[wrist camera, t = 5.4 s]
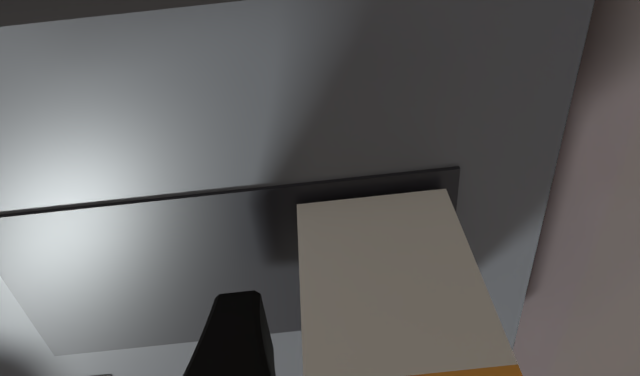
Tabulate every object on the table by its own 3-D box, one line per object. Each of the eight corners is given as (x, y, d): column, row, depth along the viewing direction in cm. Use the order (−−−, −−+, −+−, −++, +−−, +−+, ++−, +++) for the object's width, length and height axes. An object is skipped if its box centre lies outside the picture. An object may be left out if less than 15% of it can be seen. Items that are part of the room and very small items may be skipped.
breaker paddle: (445, 188, 10) (528, 389, 7) (435, 315, 13) (493, 511, 9) (296, 204, 10) (305, 413, 7) (315, 328, 13) (328, 529, 9)
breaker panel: (551, -68, 10) (606, -37, 8) (483, 329, 17) (505, 387, 15) (-189, 13, 10) (-283, 59, 8) (61, 373, 17) (37, 435, 16)
